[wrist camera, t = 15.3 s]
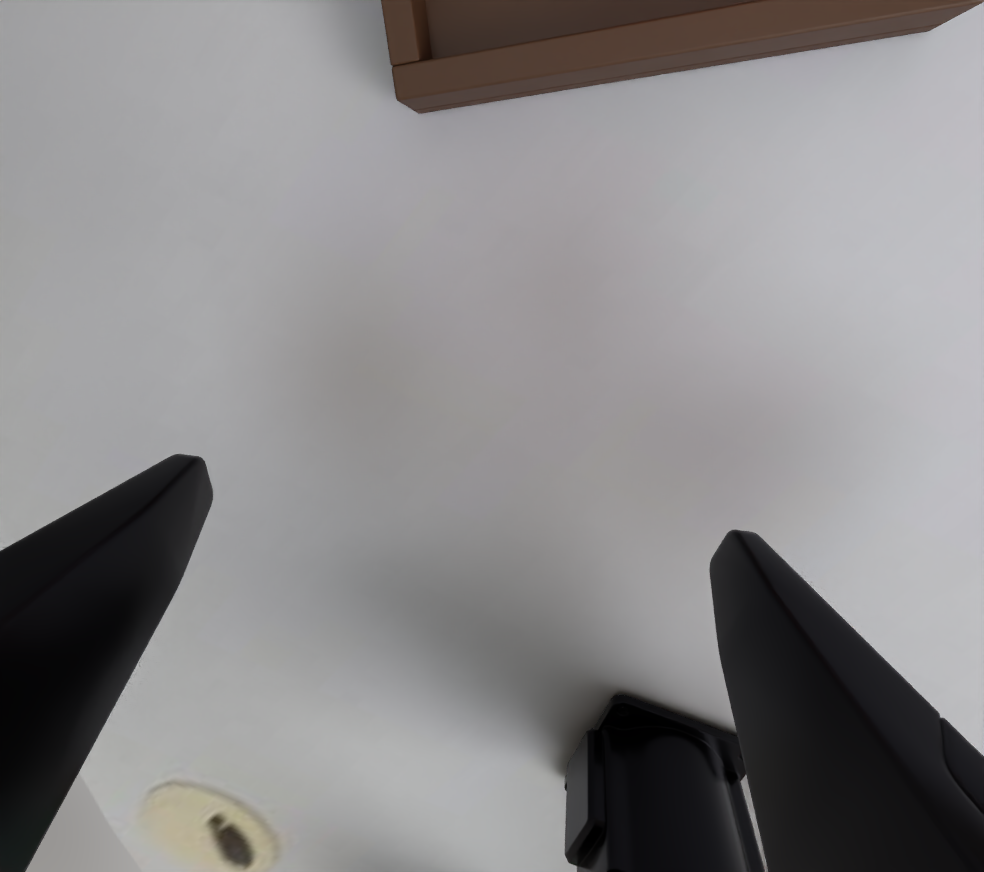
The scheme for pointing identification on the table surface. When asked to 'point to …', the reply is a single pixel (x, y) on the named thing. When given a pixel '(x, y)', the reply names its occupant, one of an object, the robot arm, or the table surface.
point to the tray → (615, 40)
